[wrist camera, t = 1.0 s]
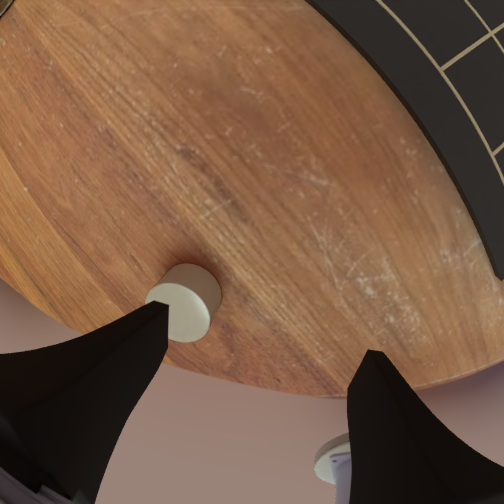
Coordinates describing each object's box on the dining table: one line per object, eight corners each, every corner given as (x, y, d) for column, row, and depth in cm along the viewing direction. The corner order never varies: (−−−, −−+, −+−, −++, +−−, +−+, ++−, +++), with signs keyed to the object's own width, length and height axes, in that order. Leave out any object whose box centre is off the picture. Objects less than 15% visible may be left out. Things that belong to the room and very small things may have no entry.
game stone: (229, 314, 21) (219, 339, 19) (175, 321, 22) (160, 344, 20) (210, 257, 20) (195, 277, 17) (153, 269, 21) (134, 288, 18)
